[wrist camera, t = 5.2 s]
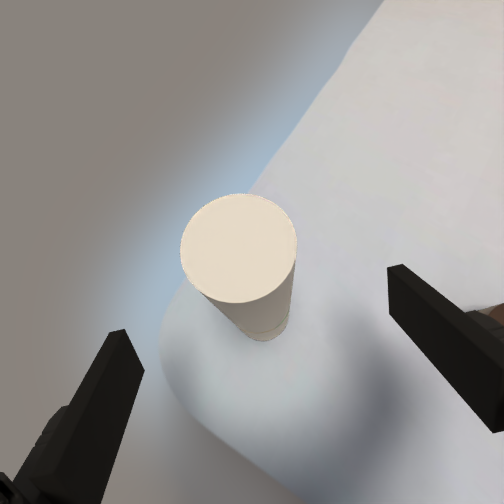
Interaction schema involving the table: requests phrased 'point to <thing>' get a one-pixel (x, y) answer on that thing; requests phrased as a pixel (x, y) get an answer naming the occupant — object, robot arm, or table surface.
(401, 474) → the table surface
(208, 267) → the tube
